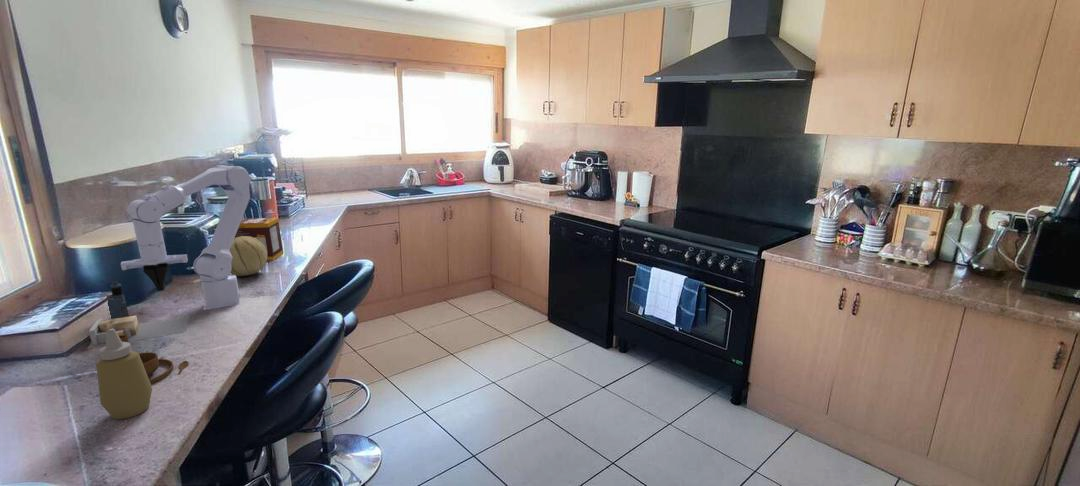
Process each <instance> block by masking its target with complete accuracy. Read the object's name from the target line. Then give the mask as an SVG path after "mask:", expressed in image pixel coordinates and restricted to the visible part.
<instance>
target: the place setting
mask: <svg viewBox="0 0 1080 486" xmlns="http://www.w3.org/2000/svg"><path fill="white" fill-rule="evenodd" d="M119 338H120V339H121V341H122V342H128V337H127V335H120V336H119ZM128 343H129V342H128ZM138 353H139V352H138ZM139 356H140V358H141V361H142V363H143V366H144V368H145V371H146V373H147V376H148V378H149V377H151V376H153V374H154V373H155V372H156V371H157V370H158V369H159V366H164V367H165V366H166V367H167V368H168V369H167V370H166V371H164V372H163V373H161V374H159V375H157V376H155V377H153V378H149V381H150V384H151V385H152V384H154V383H156V382H159V381H161V380H163V379H165V378H166V377H167V376H169V375H170V374H171V373H172V371H173V369H174V362H173V361H172V360H170V359H167V358H166V359H165V358H159V357H158V354H157V353H156V352H152V351H151V352H149V351H148V352H147V351H146V352H140V353H139ZM189 365H190V364H189V361H188V360H184V361H181V362H180V363H179V364H178V368H179V371H178V373H177V376H180V375H181V374H182V371H183V370H184V369H185V368H187V367H188V366H189Z"/></svg>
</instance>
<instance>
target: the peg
mask: <svg viewBox="0 0 1080 486" xmlns="http://www.w3.org/2000/svg"><path fill="white" fill-rule="evenodd" d="M138 324H139V321H138V316H137V315H131V316H130V315H129V317H123V318H117V319H110V318H109V319H107V320H103V322H100V323H99V328H100V332H101V333H102V332H107V330H109V329H115V330H117V329H124V330H125V329H126V328H129V329H130V333H131V335H136V334H137V332H138V331H139V325H138ZM125 334H126V333H125Z"/></svg>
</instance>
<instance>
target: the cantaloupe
mask: <svg viewBox="0 0 1080 486" xmlns="http://www.w3.org/2000/svg"><path fill="white" fill-rule="evenodd" d="M230 253H231V255H232V257H233V258H232V261H231V272H230V274H232V275H236V276H238V277H246V276H251V275H255V274H257V273H258V272H259V271H261V270H262V269H263V268H264V267H265V265H266V264H267V261H268V260H267V251H266V248H265V246H264V245H263V244H262V243H261V242H260V241H259V240H257V239H256V238H253V237H250V236H240V237H236V238H234V240H233V243H232V245H231V248H230Z"/></svg>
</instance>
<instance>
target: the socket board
mask: <svg viewBox="0 0 1080 486" xmlns="http://www.w3.org/2000/svg"><path fill="white" fill-rule="evenodd" d="M190 318H191V316H190V315H188V316H182V317H175V318H170V319H169V318H168V319H163V320H159V321H157V320H156V321H152V322H146V323H140V324H139V323H138V325H139V331H138V332H137V334H136V335H131V333H130V329H129V328H126V329H125V333H126V335H127V337H128V343H131V342H135V341H141V340H146V339H148V340H149V339H152V338H158V337H163V336H169V335H174V334H175V335H176V334H182V333H185V332H186V330H187V327H188V324H189V321H190ZM103 321H104V318H98V319H97V320H96V321H95V322H94V324H93V325H91V328H90V329H89V330H88V333H89V336H90V337H89V338H90V340H91V342H90V344H89V345H88V347H87V348H86V350H91V349H95V348H103V347H105V346H106V334H107V332H102V333H101V332H100V328H99V323H100V322H103Z"/></svg>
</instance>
